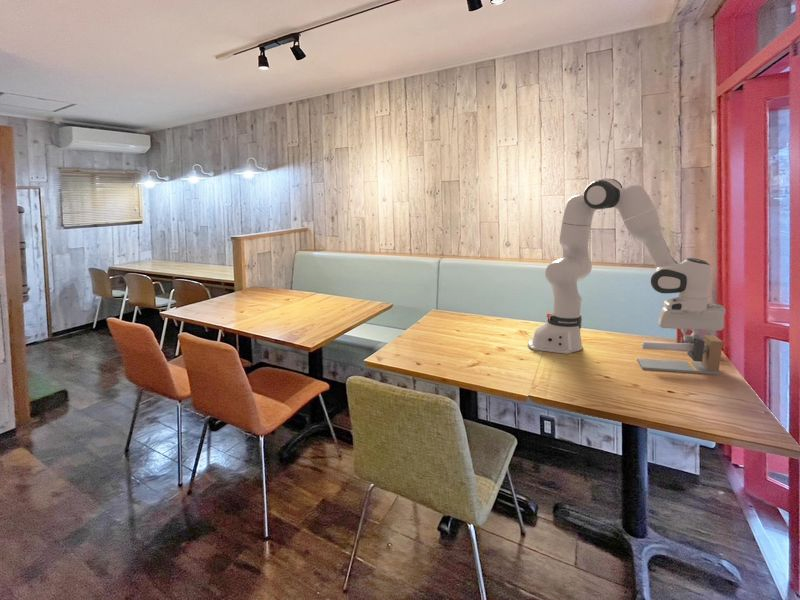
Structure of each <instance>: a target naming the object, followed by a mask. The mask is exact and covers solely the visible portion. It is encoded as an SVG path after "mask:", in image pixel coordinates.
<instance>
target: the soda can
mask: <svg viewBox="0 0 800 600" xmlns="http://www.w3.org/2000/svg"><path fill="white" fill-rule="evenodd" d="M692 332H693V331H692V329H687V332H685V333H686V335H691V334H692ZM683 337H684V335H683V333H682V331H681V329H676V332H675V342H674V343H689V341H684V340H683Z"/></svg>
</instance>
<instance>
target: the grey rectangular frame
mask: <svg viewBox="0 0 800 600" xmlns="http://www.w3.org/2000/svg"><path fill="white" fill-rule="evenodd" d="M704 343H705V342H704V339H702V338H701V336H699V335H698V334H696V335H695V337H694V340H693V341H689V344H694V351H693V352H686V353H687V355H688V356H689V358H691V360H692V362H700V363H701V362H702V358H703V351H704Z"/></svg>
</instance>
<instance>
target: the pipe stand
mask: <svg viewBox="0 0 800 600" xmlns="http://www.w3.org/2000/svg"><path fill="white" fill-rule="evenodd" d="M703 341H704V342H705V343H704V351H703V358H702V362H699V361H689V360H688V361H685V360H684V361H681V360H667V359H665V360H664V359H649V358H637V359H636V361H637V363H638V364H639V366H640V368H641V369H642V370H646V371H647V370H648V371H649V370H651V371H662V372H677V373H691V374H693V373H694V374H704V375H705V374H706V375H719V376H720V375H721V371H720V364H721V356H722V349H723V343H724V341H723V340H721V339H720V338H719V337H717V336H716V335H712V334H711V335H710V334H709V335H708V334H707V335H706V334H704V335H703ZM641 347H642V349H643V350H655V351H671V352H686V353H688V352H693V351H694V344H689V343H675V342H667V341H652V340H651V341H649V340H643V341H642V343H641Z"/></svg>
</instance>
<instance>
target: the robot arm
mask: <svg viewBox="0 0 800 600" xmlns="http://www.w3.org/2000/svg"><path fill="white" fill-rule="evenodd" d="M613 208H615V209H616V210H617V211H618V212H619V214H620V216H621V218H622V221H623V223H624V225H625V227H626V229H627V231H628V233H629V234H630V235H631V236H632V238H634V239H636V240H638V241H640V242H641V243H642V244H643V245H644V246H645V247H646V249H647V250H648V253H649V254H650V255H649V256H650V257H651V260H652V262H653V263H654V267H655V271H654V272H653V274H652V275H651V277H650V285H651V287H652V289H653V290H654V291H656V292H658V293H660V294H678V296H677V297H673V298H670V299H665V300H663V303H662V304H663V307H662V308H661V309H660V312H659V316H658V322H657V324H658V326H659V327H661V329H671V330H672V329H673V330H674V329H675V330H677V329H681V331H682V333H683V335H684V337H683V340H684V341H693V340H694V337H695V335H698V333H699V330H700V331H701V330H702V331H722V330H723V329H724V328H725V318H724V317H725V315H726V308H725V306H724V305H722V304H710V303H709V297H710V296H709V293H708V292H709V288H710V286H711V280H712V278H711V277H712V269H711V264H709V262H707V261H705V260H702V259H699V258H691V257H690V258H686V259H684V260H682V261H680V262H677V261H676V260H675V259H674V257H673V256H672V254H671V252H670V250H669V247H668V246H667V243H666V241H665V239H664V235H663V230H662V227H661V222H660V221H661V220H660V218H659V214H658V212H657V210H656V206H655V205H654V202H653V201H652V199H651V197H650V195H649V194H648V193H647V191H646V189H645V188H644V186H641V185H639V184H634V185H629V186H625V187H623V185H622V184H621V183H620V181H618V180H617V179H614V178H601V179H597V180H594V181H592V182H590V183H589V184H588V185H587V186H586V188H585V190H584V192H583V194H577V195H573V196H571V197H569V199H568V200H567V202H566V205H565V208H564V212H563V216H562V221H561V228H560V234H559V235H560V236H559V243H560V245H561V247H562V258H558V259H556V260H554V261H552V262H551V263H550V264H548V265H547V267H546V268H545V271H544V273H545V278H546V281H548V283H550V286H551V291H552V297H553V298H552V299H553V300H552V301H553V304H552V305H553V307H552V313H551V312H547V313H546V318H547V322H545V323H544V324H543V325H541V326H539V327H538V328H536V329H535V331H534V334H533V337H531V338H529V340H528V342H527V346H528V348H530V350H534V351H540V352H547V353H548V352H550V353H556V354H557V353H558V354H566V355H568V354H571V353H573V352H574V353H575V352H579V351H581V350H583V347H584V346H583V343H582V335H581V329H582V324H583V317H582V315H581V314H582V313H581V312H582V296H581V294H579V290H578V282H579V281H582V280H584V279H585V278H587V276H589V275H590V273H591V272H592V269H593V268H592V267H593V265H592V264H593V263H592V262H591V260H590V255H589V241H590V234H591V230H592V229H591V228H592V224H593V217H594V213H595V212H596V211H597V210H604V209H613ZM687 329H692V331H693V332H692V334H691V335H686V333H685V332H687Z"/></svg>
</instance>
